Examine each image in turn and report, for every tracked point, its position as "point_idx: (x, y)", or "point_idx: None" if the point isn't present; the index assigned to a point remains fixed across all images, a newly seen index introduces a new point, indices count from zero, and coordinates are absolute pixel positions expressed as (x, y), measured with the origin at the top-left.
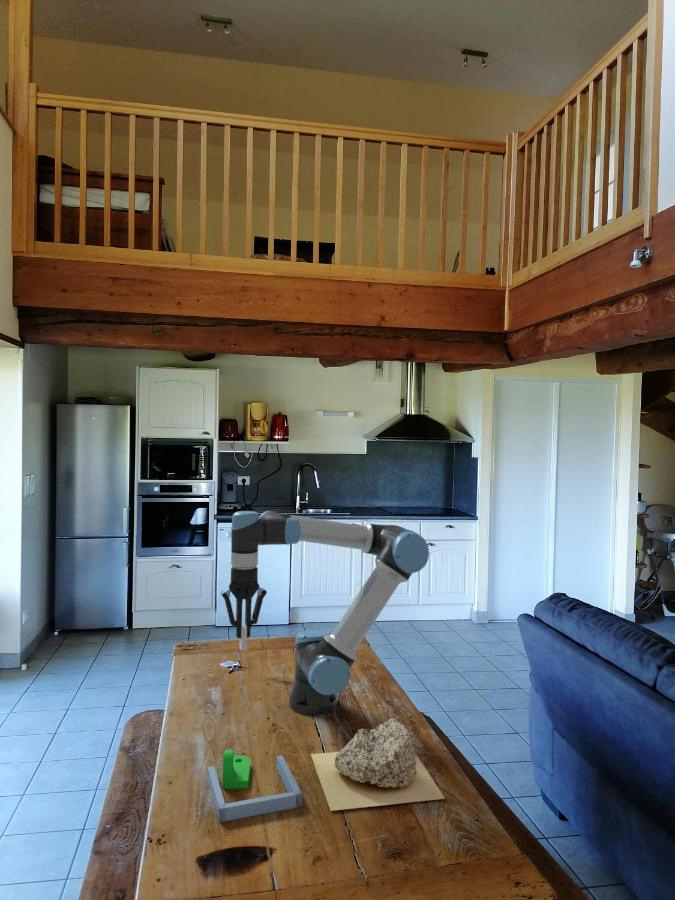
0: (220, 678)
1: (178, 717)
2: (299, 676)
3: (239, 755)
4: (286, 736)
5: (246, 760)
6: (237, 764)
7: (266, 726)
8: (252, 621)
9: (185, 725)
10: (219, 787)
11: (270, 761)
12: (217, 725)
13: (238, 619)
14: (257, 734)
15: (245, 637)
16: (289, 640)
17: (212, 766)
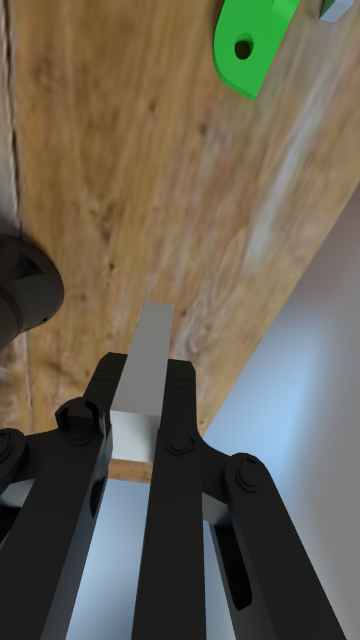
0: None
1: (256, 329)
2: (4, 304)
3: (230, 80)
4: (91, 169)
5: (225, 34)
6: (255, 19)
7: (122, 234)
8: (27, 465)
9: (258, 300)
10: None
11: (156, 44)
12: (208, 278)
13: (193, 528)
14: (149, 208)
15: (139, 349)
16: None
17: (339, 2)
